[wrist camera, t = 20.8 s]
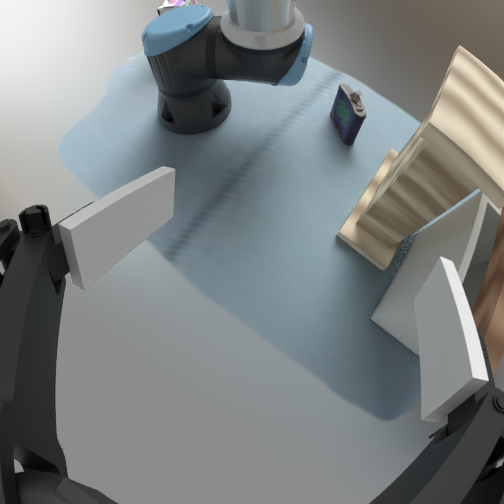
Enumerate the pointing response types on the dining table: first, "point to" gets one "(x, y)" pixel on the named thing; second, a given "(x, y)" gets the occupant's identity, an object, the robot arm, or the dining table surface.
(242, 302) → the dining table surface
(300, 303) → the dining table surface
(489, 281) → the walnut block
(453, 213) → the white open box
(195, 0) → the candy box
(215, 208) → the dining table surface
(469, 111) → the birch pedestal
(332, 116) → the flask
